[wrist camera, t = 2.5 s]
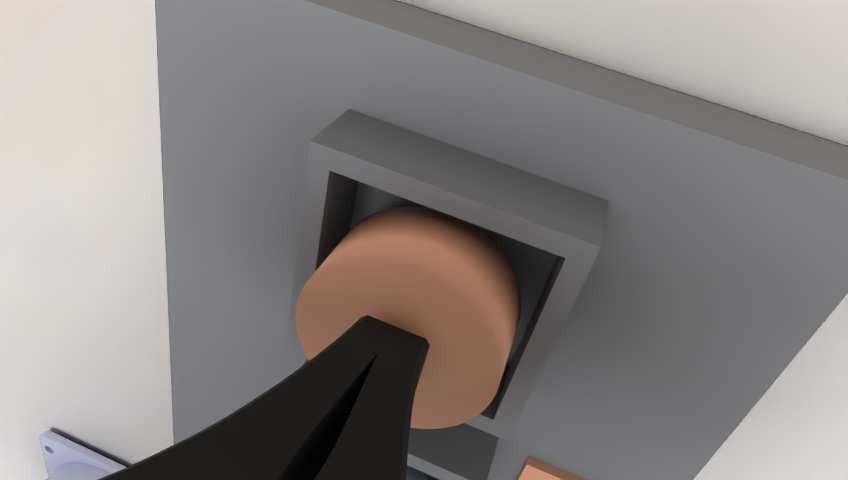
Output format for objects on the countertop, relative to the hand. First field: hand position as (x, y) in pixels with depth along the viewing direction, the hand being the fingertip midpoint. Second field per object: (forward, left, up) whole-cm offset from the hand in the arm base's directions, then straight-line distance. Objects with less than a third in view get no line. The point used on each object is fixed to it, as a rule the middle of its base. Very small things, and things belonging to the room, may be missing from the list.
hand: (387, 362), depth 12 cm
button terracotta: (0, 0, -2) cm, 2 cm away
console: (-8, 0, -6) cm, 10 cm away
